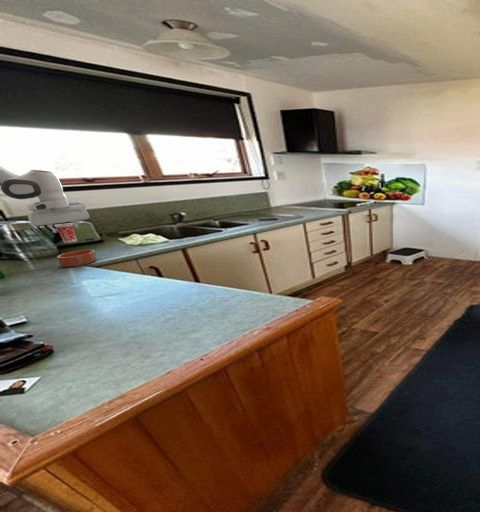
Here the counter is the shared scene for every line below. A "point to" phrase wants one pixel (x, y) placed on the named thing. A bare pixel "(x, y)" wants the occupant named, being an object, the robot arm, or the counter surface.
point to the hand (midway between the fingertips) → (66, 231)
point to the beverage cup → (67, 232)
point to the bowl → (77, 258)
